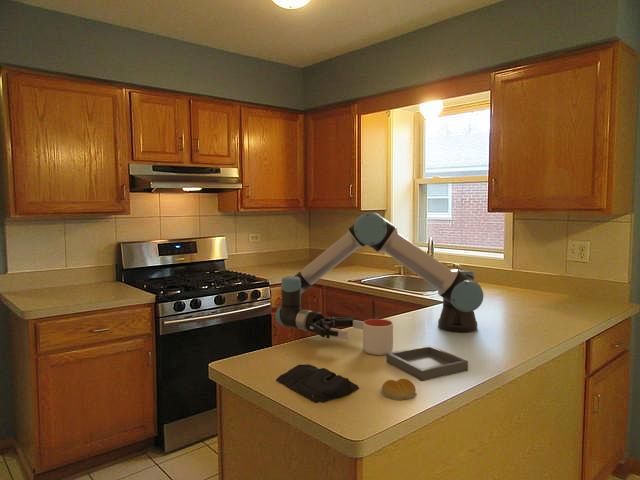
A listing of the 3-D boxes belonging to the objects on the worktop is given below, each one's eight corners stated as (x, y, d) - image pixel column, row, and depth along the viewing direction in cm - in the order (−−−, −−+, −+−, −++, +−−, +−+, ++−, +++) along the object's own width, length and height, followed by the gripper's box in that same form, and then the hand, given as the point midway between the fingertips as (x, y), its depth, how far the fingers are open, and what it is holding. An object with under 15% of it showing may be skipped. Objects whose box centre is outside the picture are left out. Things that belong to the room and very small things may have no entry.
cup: (398, 354, 158) (398, 324, 157) (371, 358, 155) (371, 327, 154) (383, 345, 168) (383, 317, 167) (358, 348, 164) (358, 320, 163)
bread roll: (378, 389, 130) (378, 375, 129) (410, 388, 131) (410, 373, 130) (386, 402, 121) (386, 387, 121) (420, 400, 122) (420, 385, 122)
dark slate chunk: (313, 369, 146) (313, 354, 145) (363, 392, 129) (363, 375, 128) (271, 381, 136) (271, 365, 136) (319, 407, 119) (319, 389, 119)
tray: (429, 353, 158) (429, 345, 158) (467, 370, 143) (468, 361, 142) (386, 362, 150) (386, 353, 150) (421, 381, 135) (422, 370, 135)
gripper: (330, 323, 188) (376, 333, 175) (288, 338, 169) (336, 350, 156) (330, 305, 188) (376, 313, 175) (288, 318, 168) (336, 327, 155)
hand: (358, 330), depth 165 cm, fingers open, 13 cm apart
